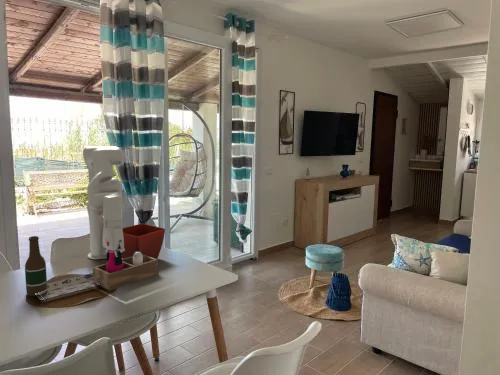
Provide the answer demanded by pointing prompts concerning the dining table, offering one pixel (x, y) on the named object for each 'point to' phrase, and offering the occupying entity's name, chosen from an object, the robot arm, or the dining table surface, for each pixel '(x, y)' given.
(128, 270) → the caddy
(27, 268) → the beer bottle
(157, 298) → the dining table surface
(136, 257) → the salt shaker
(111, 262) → the pepper mill
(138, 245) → the plant pot
